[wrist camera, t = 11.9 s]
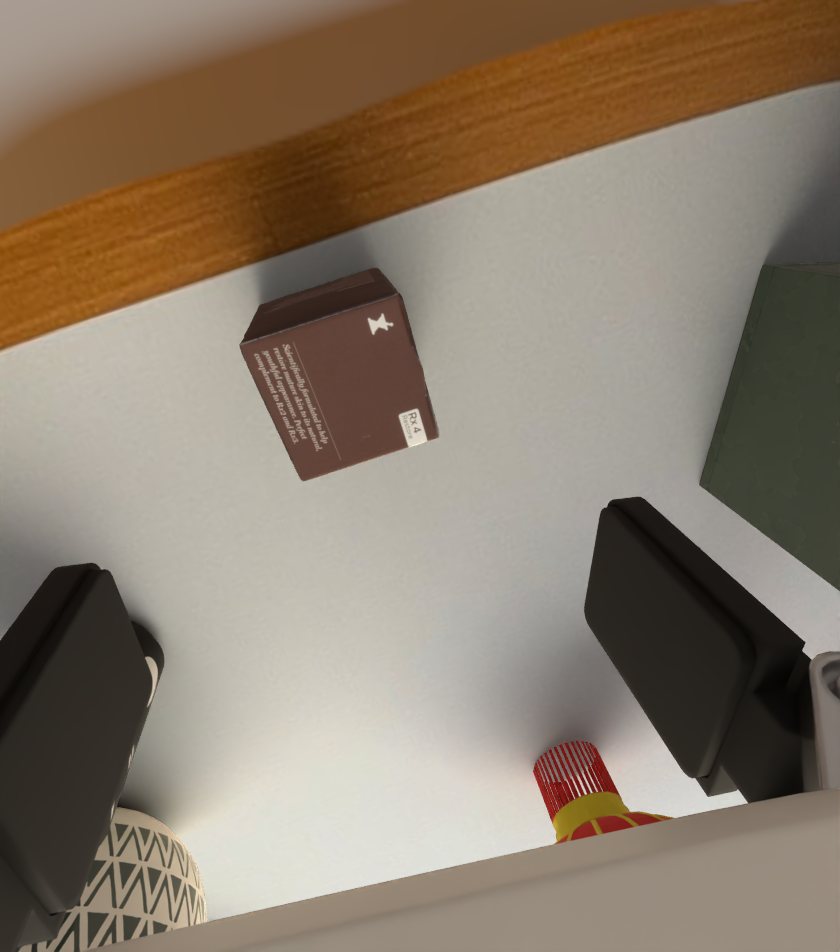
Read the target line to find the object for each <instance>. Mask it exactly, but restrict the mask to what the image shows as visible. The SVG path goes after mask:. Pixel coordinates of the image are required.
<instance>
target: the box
mask: <svg viewBox="0 0 840 952" xmlns="http://www.w3.org/2000/svg"><path fill="white" fill-rule="evenodd" d="M240 349H241V352H242V355H243V357H244V359H245V361H246V363H247V366H248V368H249V370H250V372H251V375H252V377H253V379H254V381H255V384H256V386H257V388H258V390H259V392H260V394H261V397H262V399H263V401H264V403H265V405H266V407H267V410H268V412H269V414H270V416H271V418H272V420H273V422H274V424H275V427H276V429H277V431H278V433H279V435H280V437H281V439H282V441H283V444H284V445H285V448H286V450H287V452H288V454H289V457H290V459H291V461H292V462H293V465H294V467H295V469H296V471H297V473H298V475H299V477H300V479H301V480H302V481H307V480H310V479H313V478H316V477H319V476H322V475H325V474H328V473H331V472H334V471H338V470H341V469H343V468H347V467H350V466H353V465H356V464H359V463H362V462H365V461H368V460H371V459H374V458H377V457H380V456H383V455H386V454H389V453H392V452H396V451H399V450H402V449H405V448H408V447H412V446H415V445H418V444H421V443H423V442H426V441H429V440H432V439H435V438H438V437H439V435H440V433H439V429H438V427H437V422H436V419H435V414H434V411H433V408H432V404H431V400H430V397H429V393H428V390H427V386H426V383H425V378H424V373H423V368H422V366H421V363H420V360H419V357H418V354H417V350H416V346H415V342H414V339H413V335H412V331H411V328H410V324H409V320H408V316H407V312H406V309H405V306H404V302H403V298H402V296H401V295H400V293H398V292H397V290H396V289H395V288H394V286H393V285H392V284H391V283H390V282H389V280H388V279H387V278H386V277H385V276H384V275H383V274H382V272H381V271H380V270H379V269H378V268H372V269H369V270H366V271H363V272H360V273H356V274H353V275H350V276H347V277H344V278H341V279H338V280H335V281H332V282H328V283H326V284H323V285H320V286H316V287H313V288H310V289H307V290H304V291H301V292H297V293H294V294H291V295H288V296H285V297H282V298H279V299H276V300H273V301H270V302H267V303H264V304H261V305H259V307H258V310H257V312H256V313H255V315H254V317H253V320H252V322H251V324H250V326H249V328H248V330H247V332H246V333H245V335H244V339H243V340H242V342H241V343H240Z"/></svg>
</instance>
